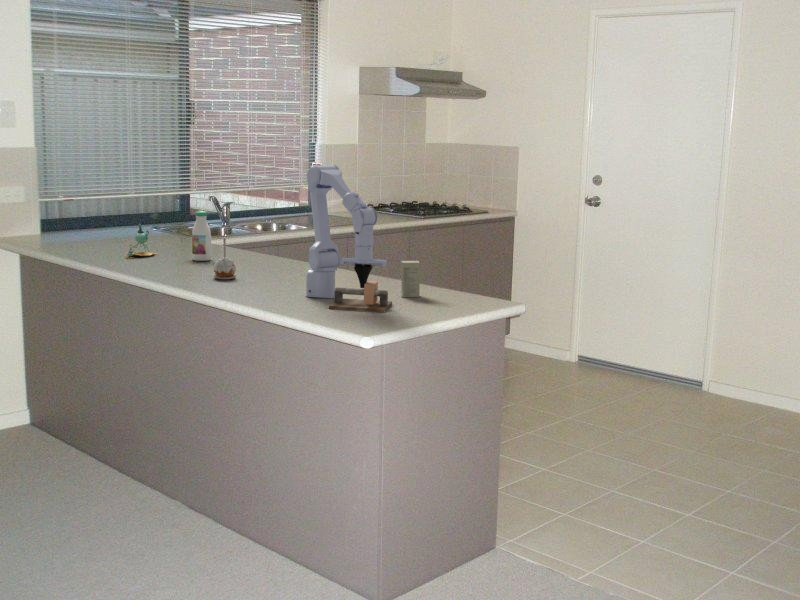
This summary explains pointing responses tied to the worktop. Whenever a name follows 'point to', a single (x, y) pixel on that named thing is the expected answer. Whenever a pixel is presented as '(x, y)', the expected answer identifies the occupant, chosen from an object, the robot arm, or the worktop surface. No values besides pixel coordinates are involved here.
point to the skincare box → (410, 278)
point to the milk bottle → (201, 238)
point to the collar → (370, 292)
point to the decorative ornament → (224, 266)
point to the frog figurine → (140, 239)
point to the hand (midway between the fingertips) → (363, 287)
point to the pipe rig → (359, 301)
